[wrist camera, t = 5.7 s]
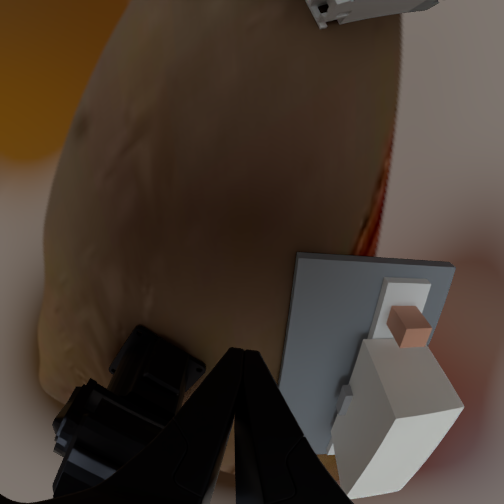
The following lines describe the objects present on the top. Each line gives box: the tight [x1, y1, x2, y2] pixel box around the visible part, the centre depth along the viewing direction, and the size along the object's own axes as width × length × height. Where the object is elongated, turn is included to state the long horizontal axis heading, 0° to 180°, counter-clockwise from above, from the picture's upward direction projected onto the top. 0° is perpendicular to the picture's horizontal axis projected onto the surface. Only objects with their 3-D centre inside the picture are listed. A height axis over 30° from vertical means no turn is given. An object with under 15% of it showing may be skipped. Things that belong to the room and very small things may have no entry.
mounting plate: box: [278, 252, 456, 455], centre depth 23 cm, size 12×22×5 cm, turn 176°
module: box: [331, 338, 464, 499], centre depth 20 cm, size 6×12×8 cm, turn 176°
